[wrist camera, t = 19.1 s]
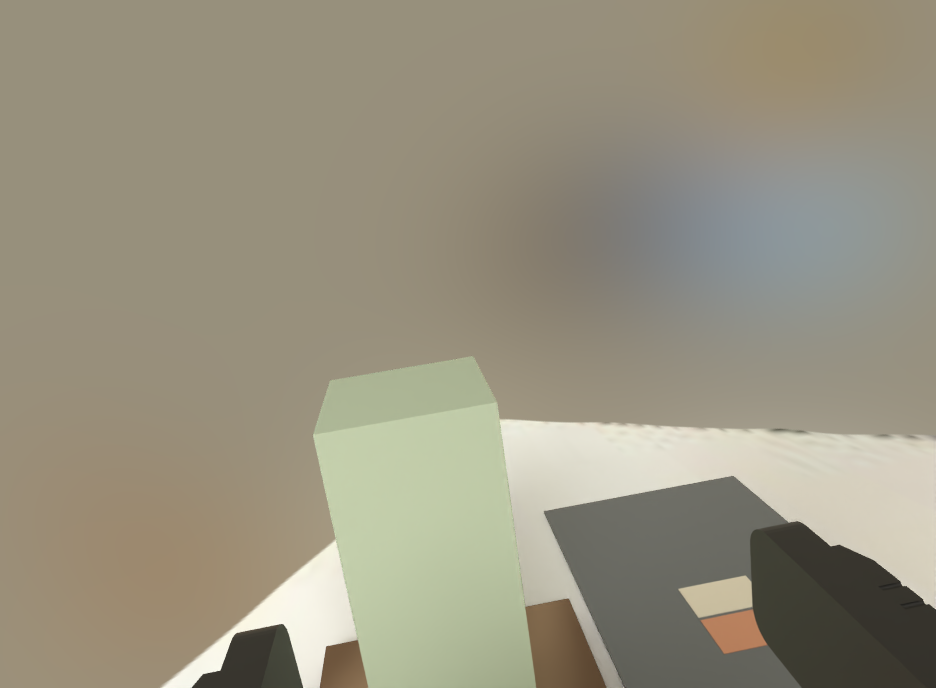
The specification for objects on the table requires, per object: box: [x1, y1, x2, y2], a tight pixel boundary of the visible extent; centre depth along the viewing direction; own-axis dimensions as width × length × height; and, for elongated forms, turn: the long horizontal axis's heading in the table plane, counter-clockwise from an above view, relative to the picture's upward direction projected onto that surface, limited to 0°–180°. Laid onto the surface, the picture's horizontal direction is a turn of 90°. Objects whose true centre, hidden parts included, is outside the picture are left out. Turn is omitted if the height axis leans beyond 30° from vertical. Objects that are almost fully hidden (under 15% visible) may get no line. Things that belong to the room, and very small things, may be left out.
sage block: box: [313, 356, 536, 688], centre depth 23 cm, size 6×6×14 cm
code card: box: [544, 476, 802, 688], centre depth 33 cm, size 13×17×1 cm
